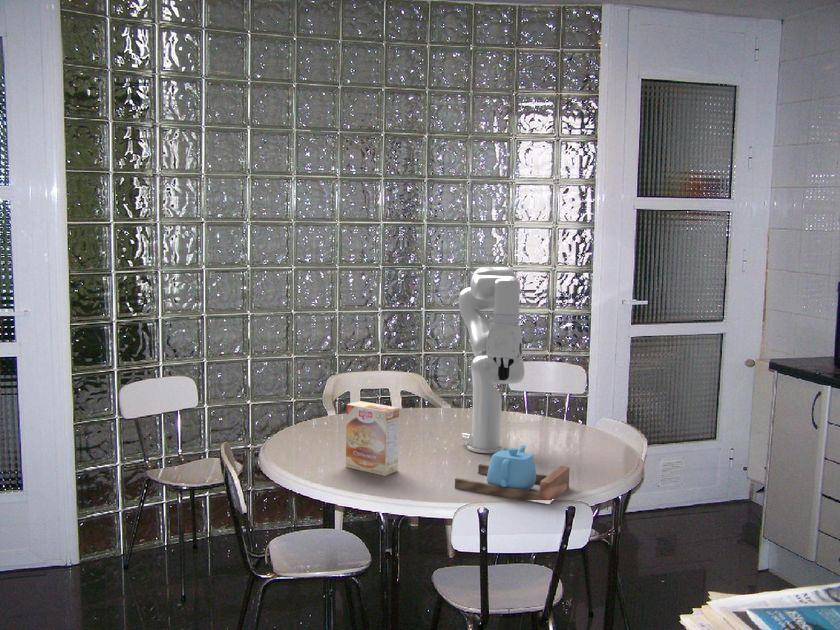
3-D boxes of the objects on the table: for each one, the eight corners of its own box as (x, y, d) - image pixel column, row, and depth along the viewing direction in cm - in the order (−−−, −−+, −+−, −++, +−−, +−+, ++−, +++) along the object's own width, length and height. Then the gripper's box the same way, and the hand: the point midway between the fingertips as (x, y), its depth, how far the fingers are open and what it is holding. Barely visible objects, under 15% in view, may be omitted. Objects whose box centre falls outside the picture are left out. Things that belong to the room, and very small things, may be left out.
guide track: (454, 487, 222) (455, 466, 221) (479, 472, 237) (480, 452, 237) (548, 505, 209) (549, 483, 209) (568, 487, 225) (569, 466, 224)
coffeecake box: (344, 467, 239) (345, 404, 237) (359, 462, 245) (360, 400, 243) (384, 476, 231) (386, 411, 229) (398, 471, 237) (400, 406, 235)
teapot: (542, 484, 228) (544, 444, 227) (524, 499, 212) (526, 457, 211) (501, 477, 233) (503, 439, 232) (480, 492, 217) (483, 450, 216)
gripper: (477, 318, 237) (475, 378, 240) (524, 323, 230) (521, 385, 232) (488, 316, 244) (486, 374, 246) (534, 320, 236) (531, 380, 239)
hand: (503, 379), depth 239 cm, fingers closed
